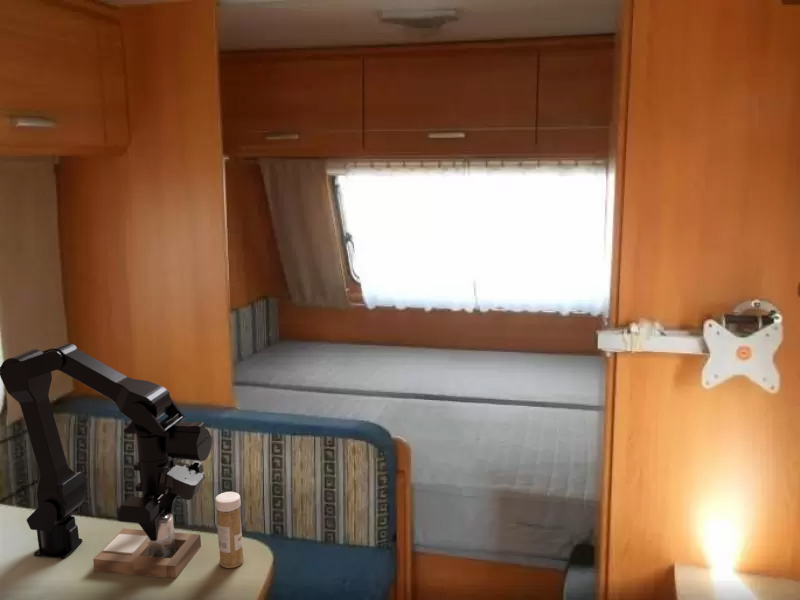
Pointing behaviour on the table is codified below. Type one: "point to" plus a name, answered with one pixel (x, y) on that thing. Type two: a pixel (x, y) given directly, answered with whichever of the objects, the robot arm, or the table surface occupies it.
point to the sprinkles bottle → (229, 529)
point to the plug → (163, 537)
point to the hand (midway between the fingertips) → (160, 533)
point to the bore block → (145, 555)
